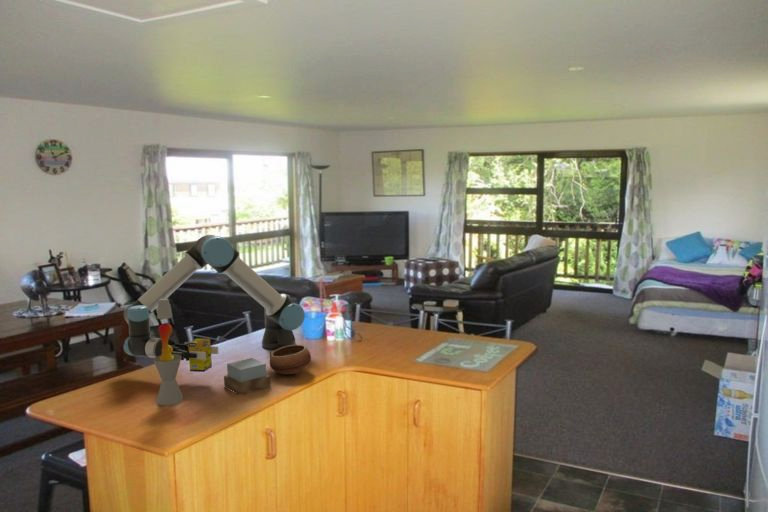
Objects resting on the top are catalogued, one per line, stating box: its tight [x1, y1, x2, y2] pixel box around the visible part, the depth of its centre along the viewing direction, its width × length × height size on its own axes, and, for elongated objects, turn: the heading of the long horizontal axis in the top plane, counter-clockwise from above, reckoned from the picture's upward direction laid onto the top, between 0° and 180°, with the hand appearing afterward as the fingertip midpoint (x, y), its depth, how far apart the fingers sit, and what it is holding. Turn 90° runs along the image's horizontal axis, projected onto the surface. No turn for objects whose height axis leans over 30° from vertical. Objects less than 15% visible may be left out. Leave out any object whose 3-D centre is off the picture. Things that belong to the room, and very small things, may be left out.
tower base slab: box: [223, 373, 271, 396], centre depth 212 cm, size 12×12×4 cm
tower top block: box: [226, 357, 267, 382], centre depth 211 cm, size 10×10×4 cm
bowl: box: [269, 344, 312, 376], centre depth 227 cm, size 16×16×10 cm
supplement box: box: [187, 338, 213, 373], centre depth 216 cm, size 6×6×11 cm
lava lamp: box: [152, 298, 184, 406], centre depth 198 cm, size 9×9×35 cm
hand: (211, 353), depth 214 cm, fingers closed on supplement box, 6 cm apart
